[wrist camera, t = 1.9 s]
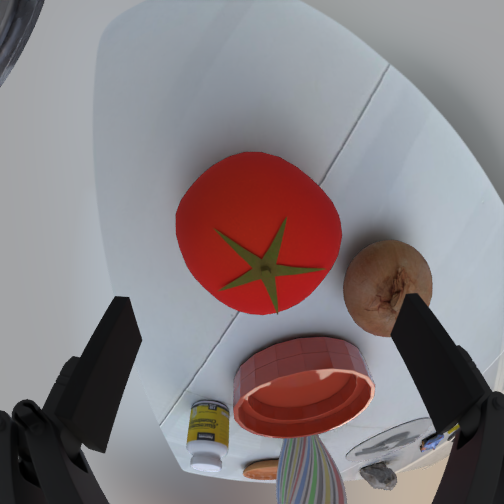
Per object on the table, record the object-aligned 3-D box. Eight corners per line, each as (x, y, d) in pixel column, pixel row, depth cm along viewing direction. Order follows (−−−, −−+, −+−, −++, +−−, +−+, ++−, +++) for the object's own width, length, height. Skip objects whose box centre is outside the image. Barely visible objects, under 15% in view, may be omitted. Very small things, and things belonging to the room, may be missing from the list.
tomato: (265, 285, 29) (274, 363, 20) (168, 217, 25) (128, 277, 16) (342, 208, 25) (392, 263, 16) (243, 120, 21) (242, 121, 12)
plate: (331, 465, 62) (331, 469, 61) (375, 428, 50) (376, 432, 48) (401, 451, 65) (401, 453, 64) (449, 409, 52) (451, 412, 51)
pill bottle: (228, 399, 39) (226, 463, 29) (230, 417, 42) (229, 474, 32) (188, 397, 39) (180, 460, 29) (194, 415, 42) (188, 471, 32)
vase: (284, 446, 50) (295, 558, 24) (254, 429, 45) (260, 566, 18) (340, 429, 48) (364, 547, 21) (320, 408, 42) (347, 558, 15)
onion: (341, 236, 30) (347, 245, 20) (419, 236, 27) (454, 245, 18) (339, 317, 31) (341, 356, 21) (413, 316, 28) (440, 352, 19)
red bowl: (231, 334, 32) (230, 373, 27) (378, 326, 33) (395, 359, 27) (236, 410, 41) (236, 440, 36) (344, 402, 42) (352, 430, 36)
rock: (356, 472, 67) (382, 495, 54) (376, 454, 70) (403, 476, 57) (361, 477, 75) (383, 497, 62) (378, 461, 77) (401, 480, 64)
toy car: (417, 449, 68) (421, 459, 64) (422, 438, 62) (427, 450, 57) (435, 440, 67) (439, 450, 62) (442, 428, 60) (447, 439, 56)
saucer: (264, 474, 63) (264, 482, 60) (230, 464, 57) (230, 473, 54) (311, 463, 59) (312, 471, 56) (282, 452, 53) (283, 463, 50)
